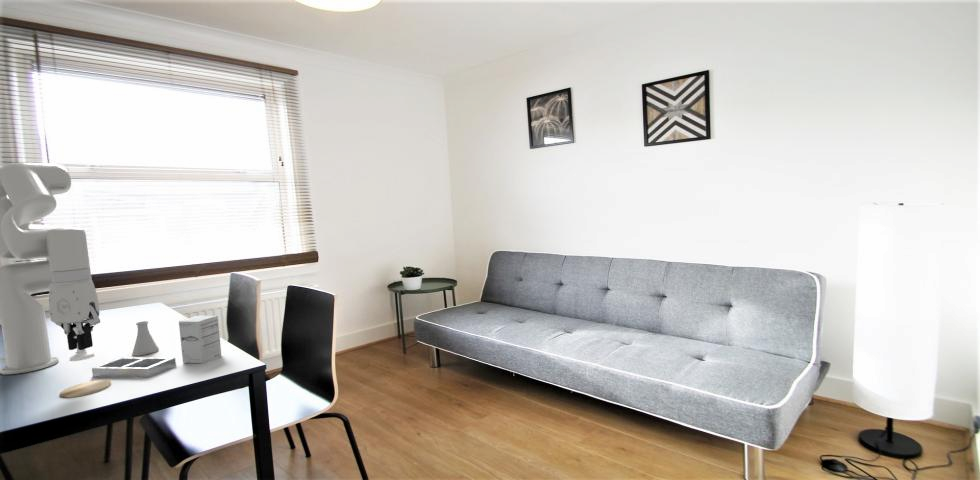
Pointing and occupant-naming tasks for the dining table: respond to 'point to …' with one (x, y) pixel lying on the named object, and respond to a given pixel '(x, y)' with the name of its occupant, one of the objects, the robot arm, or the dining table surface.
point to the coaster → (85, 388)
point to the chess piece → (80, 351)
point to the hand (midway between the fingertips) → (81, 347)
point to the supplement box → (200, 339)
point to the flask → (144, 341)
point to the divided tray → (133, 367)
